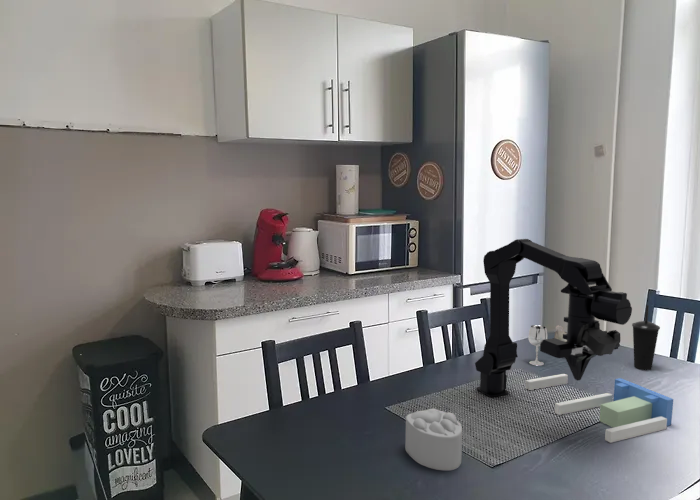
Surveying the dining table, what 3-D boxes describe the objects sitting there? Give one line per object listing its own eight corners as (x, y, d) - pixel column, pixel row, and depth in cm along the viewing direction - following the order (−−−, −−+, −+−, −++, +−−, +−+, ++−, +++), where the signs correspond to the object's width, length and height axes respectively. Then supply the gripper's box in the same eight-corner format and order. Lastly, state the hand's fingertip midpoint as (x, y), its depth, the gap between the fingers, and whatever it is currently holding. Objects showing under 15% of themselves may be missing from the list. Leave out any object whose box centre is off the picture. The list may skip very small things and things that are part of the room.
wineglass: (548, 366, 171) (550, 329, 169) (530, 366, 171) (532, 329, 170) (542, 360, 177) (544, 324, 175) (524, 360, 177) (526, 324, 175)
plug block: (617, 430, 128) (618, 412, 127) (599, 421, 132) (600, 404, 132) (651, 421, 133) (652, 403, 132) (632, 413, 138) (634, 396, 137)
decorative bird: (561, 359, 178) (562, 337, 177) (549, 345, 194) (550, 324, 193) (578, 360, 177) (580, 338, 176) (565, 345, 193) (566, 325, 192)
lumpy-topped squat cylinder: (439, 437, 124) (440, 401, 123) (473, 464, 112) (475, 425, 111) (399, 446, 120) (400, 408, 119) (430, 475, 108) (431, 434, 107)
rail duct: (610, 442, 121) (612, 415, 120) (514, 390, 151) (515, 368, 150) (675, 426, 129) (677, 400, 129) (571, 380, 159) (572, 359, 158)
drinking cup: (623, 365, 172) (627, 304, 169) (640, 362, 175) (644, 301, 172) (645, 373, 165) (650, 309, 162) (662, 369, 168) (667, 306, 166)
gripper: (577, 327, 114) (573, 398, 116) (641, 319, 121) (636, 386, 123) (540, 315, 124) (536, 381, 126) (600, 308, 131) (596, 370, 133)
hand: (577, 379), depth 127 cm, fingers closed
